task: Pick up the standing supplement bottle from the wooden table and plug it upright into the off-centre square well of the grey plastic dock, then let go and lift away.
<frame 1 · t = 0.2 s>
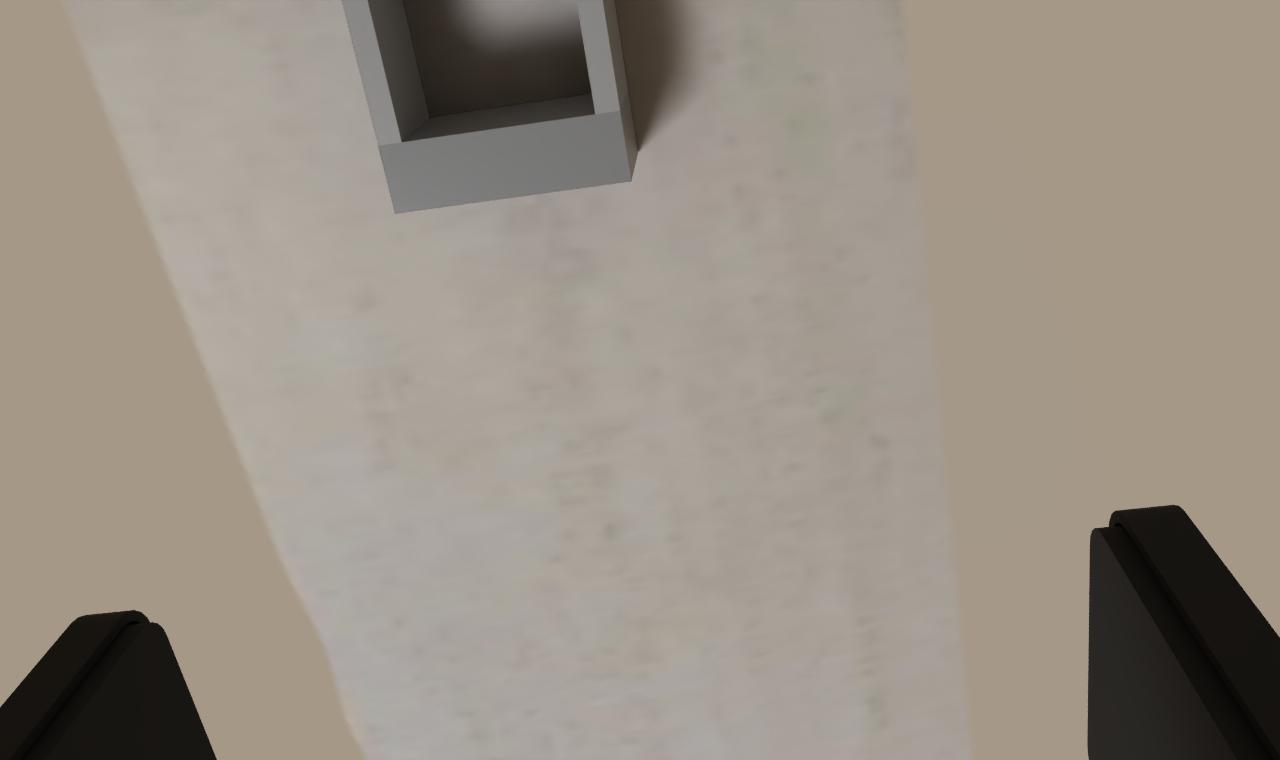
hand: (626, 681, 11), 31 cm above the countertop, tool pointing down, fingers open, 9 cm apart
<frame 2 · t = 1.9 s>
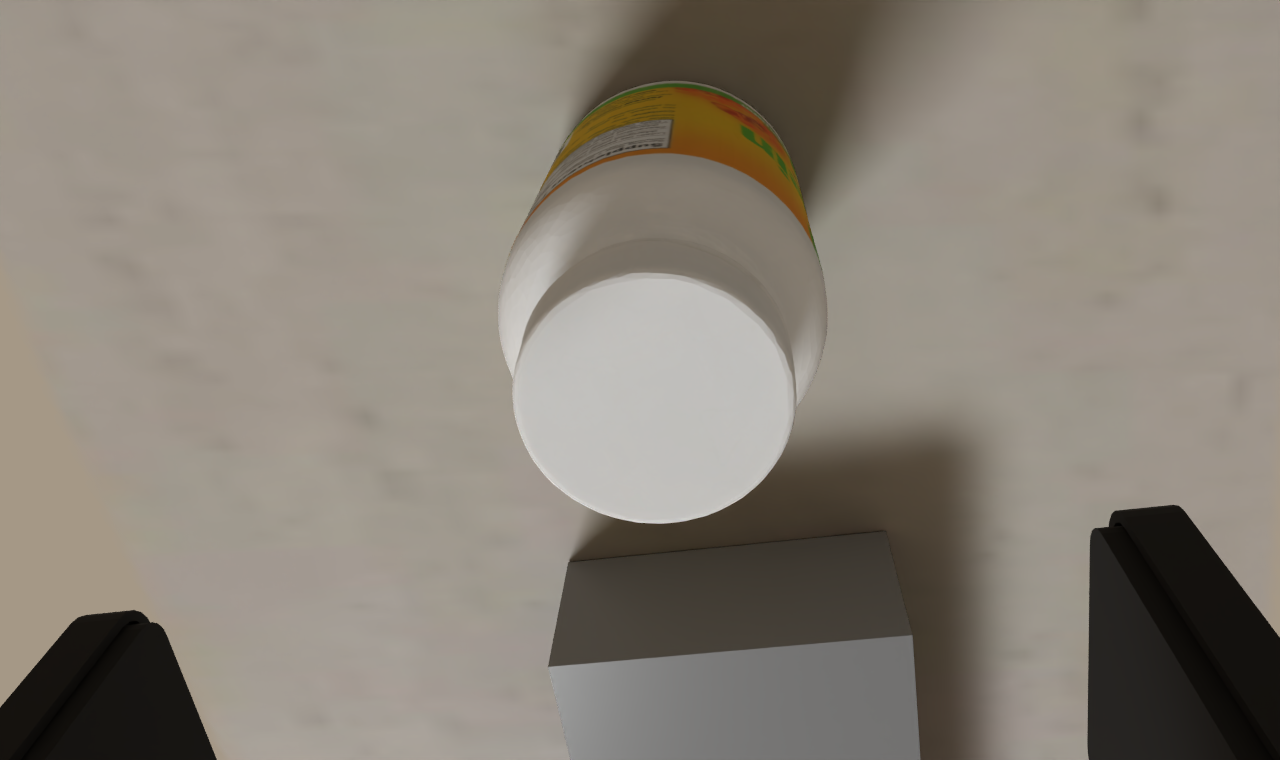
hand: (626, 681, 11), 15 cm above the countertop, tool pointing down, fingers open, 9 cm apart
dock: (755, 756, 31), on the countertop
supplement bottle: (673, 199, 24), on the countertop
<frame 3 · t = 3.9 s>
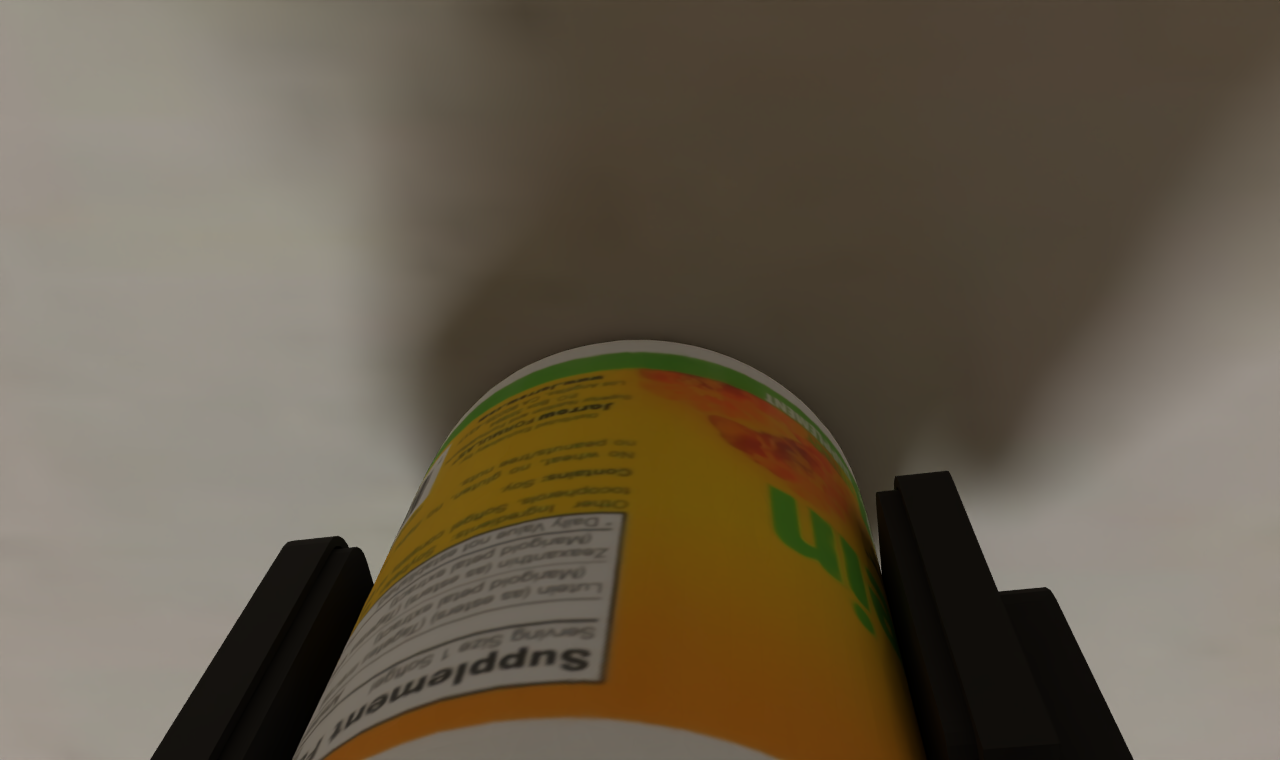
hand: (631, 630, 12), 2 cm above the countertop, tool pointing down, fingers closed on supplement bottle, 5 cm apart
supplement bottle: (643, 520, 14), on the countertop, touching gripper
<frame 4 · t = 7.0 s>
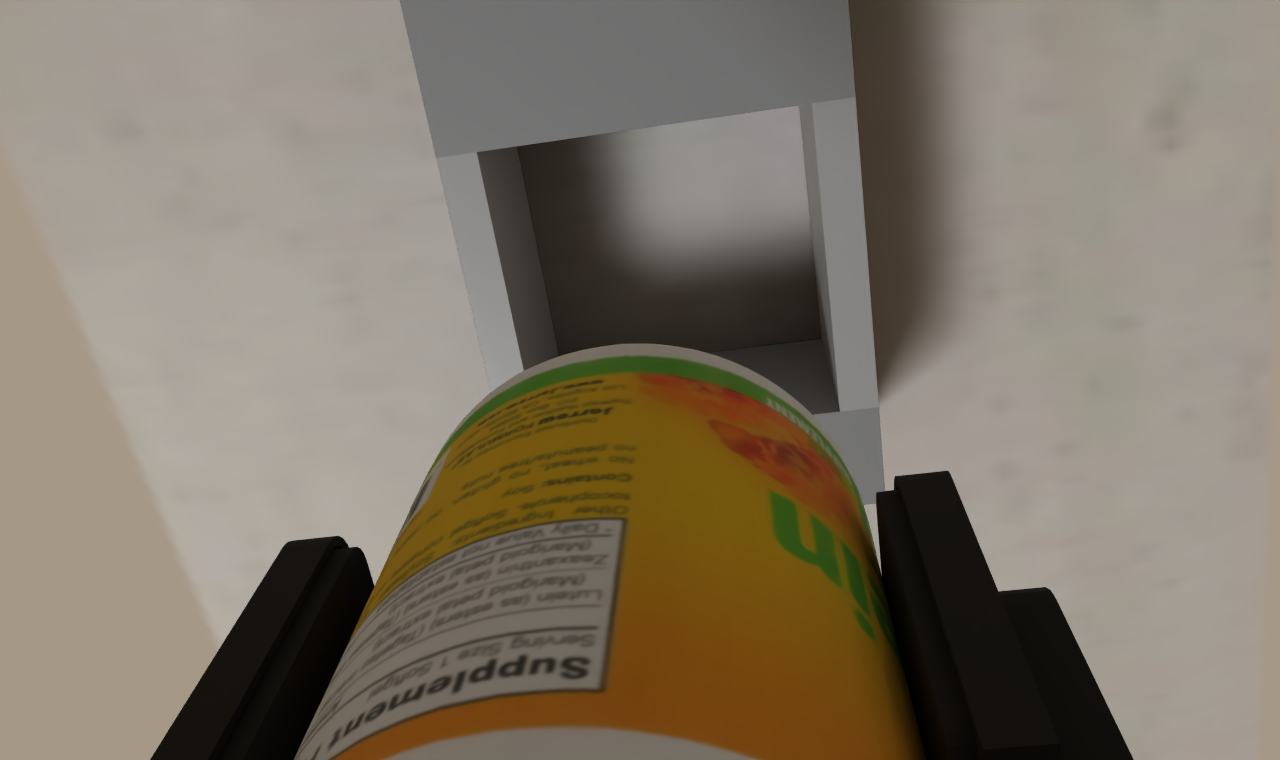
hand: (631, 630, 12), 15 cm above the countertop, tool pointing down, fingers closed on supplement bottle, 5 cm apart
dock: (661, 166, 25), on the countertop
supplement bottle: (643, 524, 14), point 13 cm above the countertop, touching gripper
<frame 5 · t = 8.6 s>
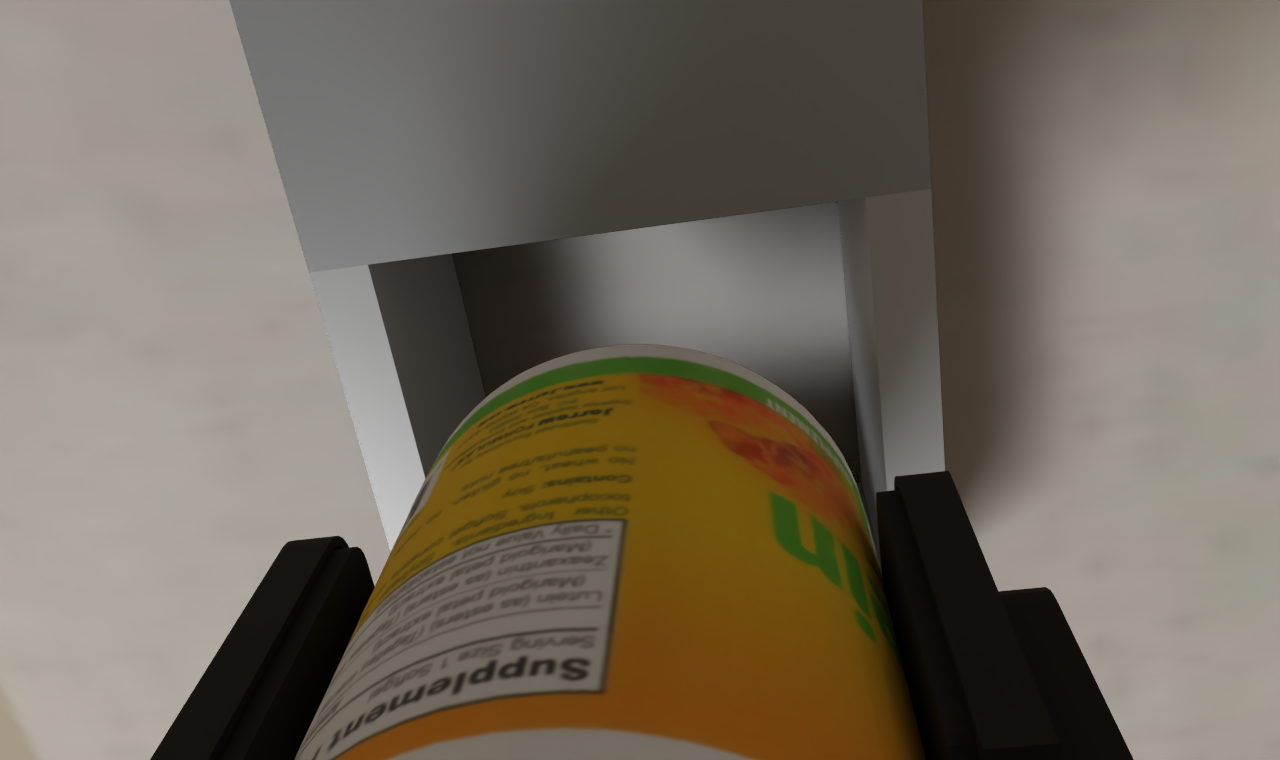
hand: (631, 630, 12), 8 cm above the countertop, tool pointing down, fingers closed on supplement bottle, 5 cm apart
dock: (645, 258, 18), on the countertop
supplement bottle: (644, 525, 14), point 6 cm above the countertop, touching gripper
when the fingers open (4 cm above the countertop, at t = 9.9 s): supplement bottle drops 2 cm, resting in dock.
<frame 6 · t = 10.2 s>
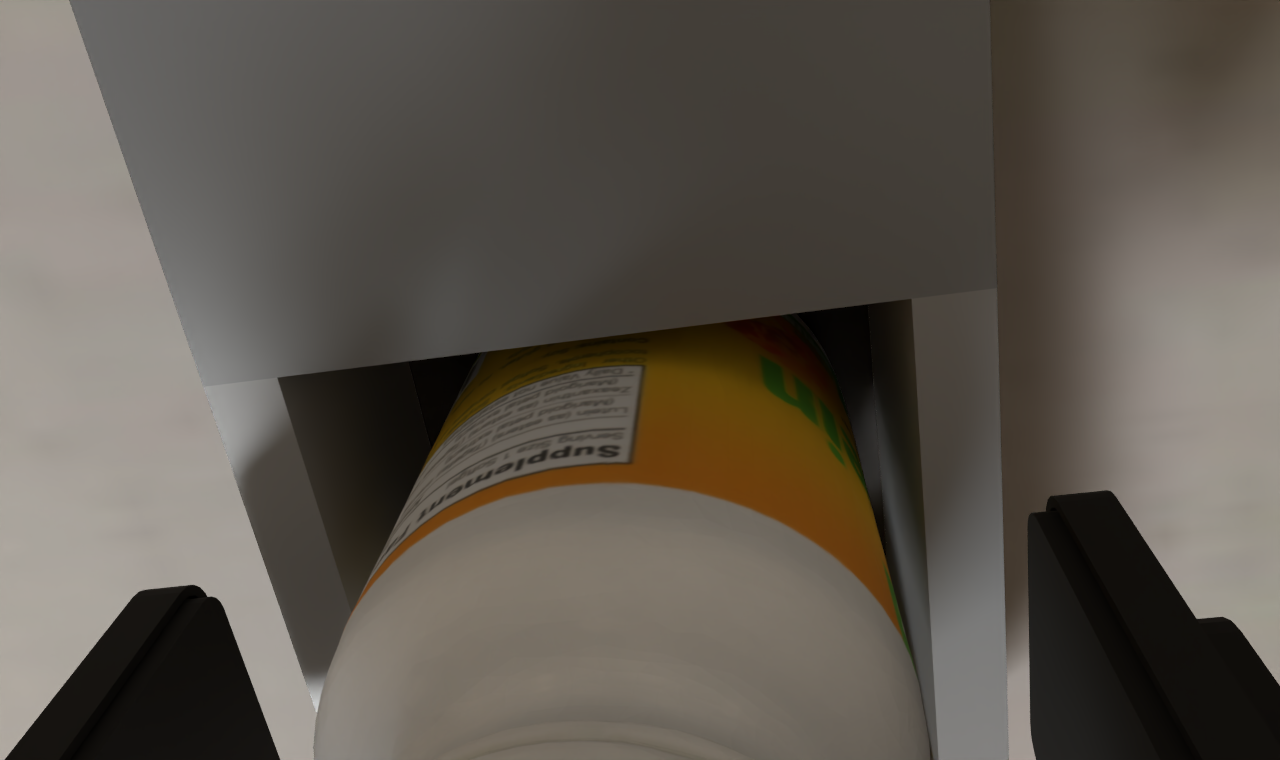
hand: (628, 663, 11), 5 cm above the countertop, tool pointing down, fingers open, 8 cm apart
dock: (634, 341, 15), on the countertop
supplement bottle: (654, 419, 16), resting in dock
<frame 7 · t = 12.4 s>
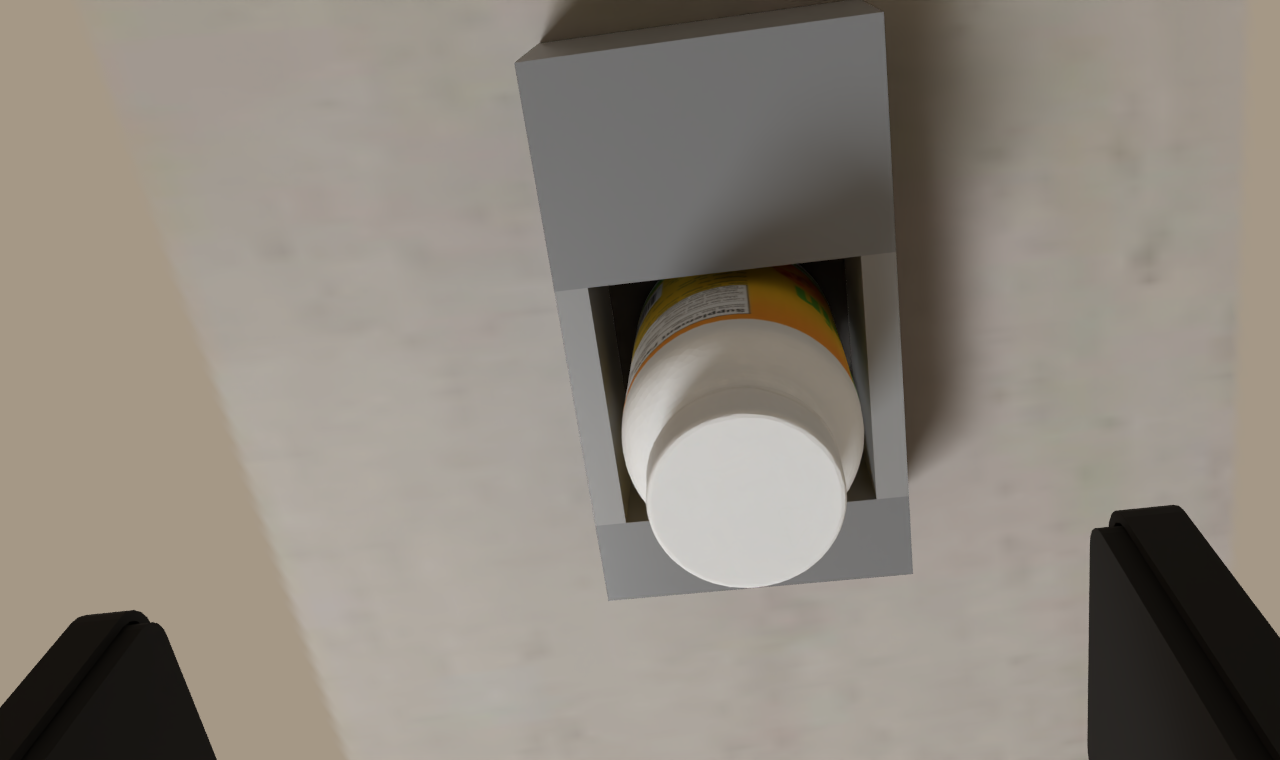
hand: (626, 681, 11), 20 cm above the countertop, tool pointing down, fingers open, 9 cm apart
dock: (726, 288, 30), on the countertop
supplement bottle: (734, 330, 31), resting in dock
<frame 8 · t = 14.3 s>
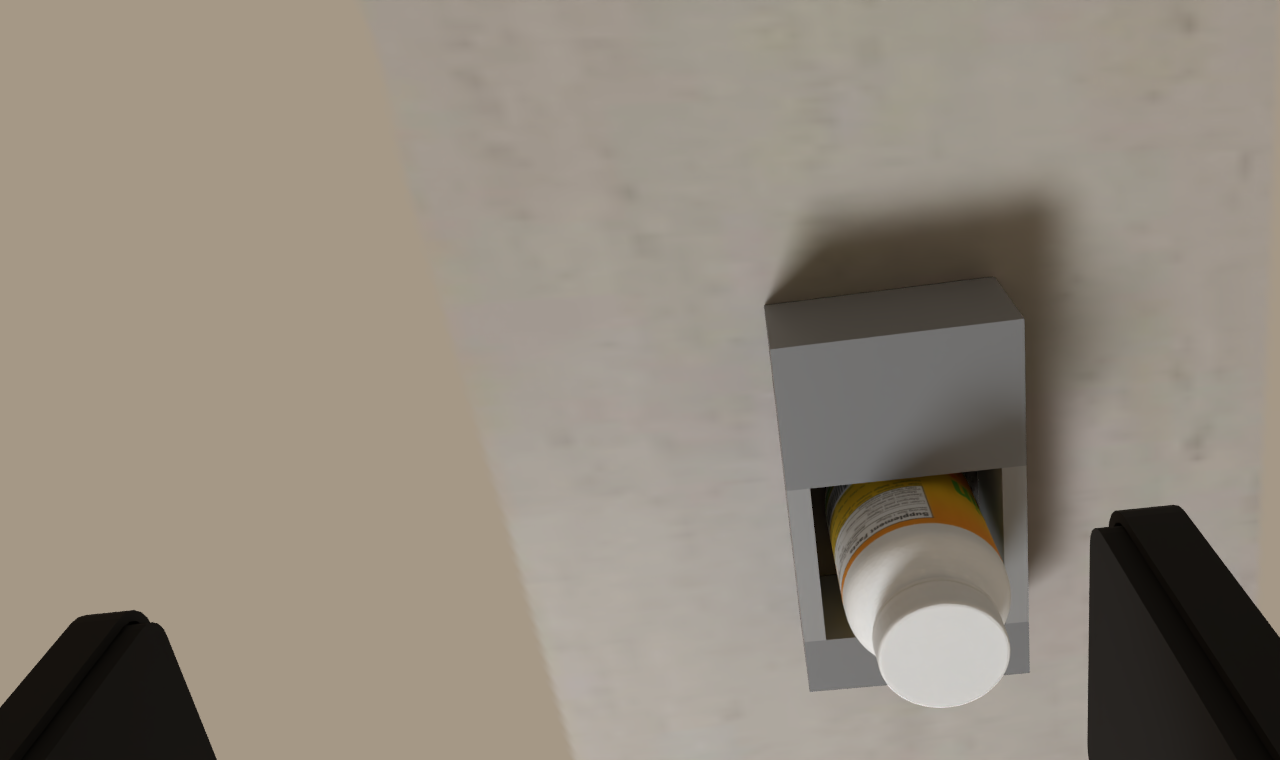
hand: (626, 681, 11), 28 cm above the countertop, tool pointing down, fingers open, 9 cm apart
dock: (890, 464, 42), on the countertop
supplement bottle: (893, 491, 43), resting in dock
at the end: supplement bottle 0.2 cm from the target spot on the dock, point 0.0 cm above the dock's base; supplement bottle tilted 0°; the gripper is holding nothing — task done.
